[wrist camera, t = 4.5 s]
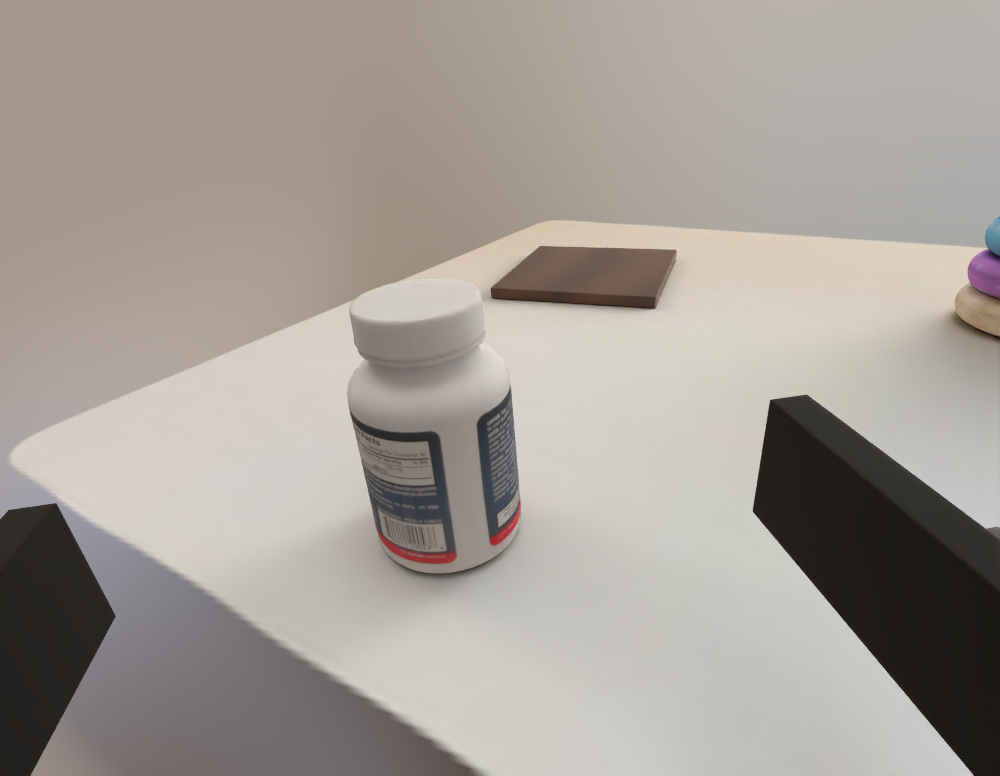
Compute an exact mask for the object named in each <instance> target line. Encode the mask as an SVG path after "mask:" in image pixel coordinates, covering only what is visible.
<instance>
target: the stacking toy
mask: <svg viewBox="0 0 1000 776" xmlns="http://www.w3.org/2000/svg"><path fill="white" fill-rule="evenodd" d="M985 242H986V245H987V247H988V248H989V249H987V250H984V251H982V252H980V253H979V254H977V255H976V256H975V257H974V258H973V259H972V260H971V262H970V264H969V267H968V278H969V281H970V283H968V284H967V285H965V286H964V287H963V288H962V289H961V290H960V291H959V292H958V294H957V296H956V299H955V309H956V312H957V313H958V315H959V316H960V317H961V318H962V319H963V320H964V321H966V322H967V323H969V324H970V325H972V326H974V327H976V328H978V329H980V330H983V331H985V332H988V333H990V334H993V335H996V336H999V337H1000V217H998V218H997V219H995V220H994V221H993V222H992V223H991V224H990V225H989V226H988V229H987V230H986V234H985Z"/></svg>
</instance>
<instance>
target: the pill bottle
mask: <svg viewBox="0 0 1000 776" xmlns="http://www.w3.org/2000/svg"><path fill="white" fill-rule="evenodd" d="M350 318H351V323H352V329H353V334H354V343H355V345H356V347H357V348H358V352H359V354H360V355H361V356H362V357H363V358H364V359H365V360H364V361H363V362H362V363H361V364H360V365H359V366H358V367H357V369H356V370H355V371H354V373H353V375H352V376H351V379H350V381H349V385H348V391H347V395H348V404H349V409H350V414H351V418H352V422H353V426H354V430H355V434H356V439H357V443H358V447H359V452H360V456H361V460H362V465H363V469H364V474H365V478H366V483H367V487H368V492H369V496H370V501H371V505H372V510H373V514H374V519H375V524H376V528H377V532H378V536H379V539H380V542H381V545H382V547H383V548H384V550H385V551H386V553H387V554H388V555H389V556H390V557H391V558H392V559H393V560H395V561H396V562H398V563H399V564H401V565H403V566H405V567H407V568H410V569H412V570H416V571H420V572H425V573H452V572H458V571H462V570H466V569H470V568H473V567H475V566H478V565H480V564H482V563H484V562H486V561H488V560H490V559H492V558H493V557H495V556H496V555H498V554H499V553H500V552H502V551H503V550H504V549H505V548H506V547H507V546H508V545H509V544H510V542H511V541H512V540H513V538H514V537H515V535H516V533H517V531H518V528H519V525H520V519H521V504H520V493H519V480H518V468H517V457H516V443H515V431H514V419H513V408H512V395H511V386H510V378H509V372H508V368H507V366H506V364H505V362H504V360H503V358H502V357H501V356H500V355H499V354H498V353H497V352H496V351H495V350H494V349H492V348H491V347H489V346H488V345H485V344H483V343H481V342H482V341H483V339H484V337H485V322H484V314H483V305H482V297H481V293H480V291H479V289H478V288H477V287H476V286H475V285H472V284H470V283H468V282H465V281H460V280H454V279H441V278H431V279H418V280H409V281H402V282H397V283H392V284H388V285H385V286H382V287H379V288H376V289H373V290H371V291H368V292H366V293H364V294H362V295H360V296H359V297H358V298H356V299H355V300H354V301H353V302H352V303H351V305H350Z"/></svg>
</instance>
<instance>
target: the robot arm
mask: <svg viewBox="0 0 1000 776" xmlns="http://www.w3.org/2000/svg"><path fill="white" fill-rule="evenodd" d="M753 512H754V514H755V515H756V516H757V517H758V518H759V519H760V521H761V522H762V523H763V524H764V525H765V527H766V528H767V529H768V530H769V531H770V533H771V534H772V535H773V536H774V537H775V539H776V540H777V541H778V542H779V543H780V545H781V546H782V547H783V548H784V549H785V551H786V552H787V553H788V554H789V555H790V556H791V558H792V559H793V560H794V561H795V562H796V564H797V565H798V566H799V567H800V568H801V570H802V571H803V572H804V573H805V574H806V576H807V577H808V578H809V579H810V580H811V582H812V583H813V584H814V585H815V586H816V588H817V589H818V590H819V591H820V592H821V593H822V595H823V596H824V597H825V598H826V599H827V601H828V602H829V603H830V604H831V605H832V607H833V608H834V609H835V610H836V611H837V613H838V614H839V615H840V616H841V617H842V619H843V620H844V621H845V622H846V623H847V625H848V626H849V627H850V628H851V629H852V630H853V632H854V633H855V634H856V635H857V636H858V638H859V639H860V640H861V641H862V642H863V644H864V645H865V646H866V647H867V648H868V650H869V651H870V652H871V653H872V654H873V656H874V657H875V658H876V659H877V660H878V662H879V663H880V664H881V665H882V666H883V667H884V669H885V670H886V671H887V672H888V673H889V675H890V676H891V677H892V678H893V679H894V681H895V682H896V683H897V684H898V685H899V687H900V688H901V689H902V690H903V691H904V693H905V694H906V695H907V696H908V697H909V699H910V700H911V701H912V702H913V703H914V704H915V706H916V707H917V708H918V709H919V710H920V712H921V713H922V714H923V715H924V716H925V718H926V719H927V720H928V721H929V722H930V724H931V725H932V726H933V727H934V728H935V730H936V731H937V732H938V733H939V734H940V735H941V737H942V738H943V739H944V740H945V741H946V743H947V744H948V745H949V746H950V747H951V749H952V750H953V751H954V752H955V753H956V755H957V756H958V757H959V758H960V759H961V761H962V762H963V763H964V764H965V765H966V767H967V768H968V769H969V770H970V771H971V772H972V774H973V775H974V776H1000V528H999V527H994V528H988V529H985V528H984V527H983V526H981V525H980V524H979V523H977V522H976V521H975V520H973V519H972V518H971V517H969V516H968V515H967V514H965V513H964V512H963V511H961V510H960V509H959V508H957V507H956V506H955V505H953V504H952V503H951V502H949V501H948V500H947V499H945V498H944V497H943V496H941V495H940V494H939V493H937V492H936V491H935V490H933V489H932V488H931V487H929V486H928V485H927V484H925V483H924V482H923V481H921V480H920V479H919V478H917V477H916V476H915V475H913V474H912V473H911V472H909V471H908V470H907V469H905V468H904V467H903V466H901V465H900V464H899V463H897V462H896V461H895V460H893V459H892V458H891V457H889V456H888V455H887V454H885V453H884V452H883V451H881V450H880V449H879V448H877V447H876V446H875V445H873V444H872V443H871V442H869V441H868V440H867V439H865V438H864V437H863V436H861V435H860V434H859V433H857V432H856V431H855V430H853V429H852V428H851V427H849V426H848V425H847V424H845V423H844V422H843V421H841V420H840V419H839V418H837V417H836V416H835V415H833V414H832V413H831V412H829V411H828V410H827V409H825V408H824V407H823V406H821V405H820V404H819V403H817V402H816V401H815V400H813V399H812V398H811V397H809V396H808V395H801V396H794V397H787V398H780V399H774V400H770V405H769V411H768V417H767V424H766V430H765V436H764V443H763V449H762V455H761V462H760V468H759V474H758V481H757V487H756V493H755V500H754V506H753ZM114 618H115V614H114V612H113V610H112V608H111V607H110V605H109V603H108V601H107V599H106V597H105V595H104V593H103V591H102V590H101V588H100V586H99V584H98V582H97V580H96V578H95V576H94V574H93V572H92V570H91V568H90V567H89V565H88V563H87V561H86V559H85V557H84V555H83V553H82V551H81V549H80V548H79V546H78V544H77V542H76V540H75V538H74V536H73V534H72V532H71V531H70V528H69V527H68V525H67V523H66V521H65V519H64V517H63V515H62V513H61V511H60V510H59V508H58V506H57V504H56V503H55V504H48V505H41V506H34V507H27V508H20V509H13V510H8V512H7V513H6V514H5V515H4V516H3V517H2V518H1V519H0V776H30V775H31V773H32V772H33V770H34V768H35V766H36V764H37V762H38V760H39V758H40V757H41V755H42V753H43V751H44V749H45V747H46V745H47V743H48V742H49V740H50V738H51V736H52V734H53V732H54V730H55V729H56V726H57V725H58V723H59V721H60V719H61V717H62V715H63V714H64V712H65V710H66V708H67V706H68V704H69V702H70V700H71V699H72V697H73V695H74V693H75V691H76V689H77V687H78V686H79V684H80V682H81V680H82V678H83V676H84V674H85V672H86V671H87V669H88V667H89V665H90V663H91V661H92V659H93V658H94V656H95V654H96V652H97V650H98V648H99V646H100V644H101V643H102V640H103V639H104V637H105V635H106V633H107V631H108V629H109V628H110V626H111V624H112V622H113V620H114Z"/></svg>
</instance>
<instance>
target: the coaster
mask: <svg viewBox="0 0 1000 776" xmlns="http://www.w3.org/2000/svg"><path fill="white" fill-rule="evenodd" d="M675 260H676V250H660V249H624V248H588V247H552V246H540V247H539V248H537V249H536V250H535V251H534V252H533V253H531V254H530V255H529V256H528V257H527V258H526V259H524V260H523V261H522V262H521V263H520V264H519V265H517V266H516V267H515V268H514V269H513V270H512V271H510V272H509V273H508V274H507V275H506V276H505V277H503V278H502V279H501V280H500V281H499V282H498V283H496V284H495V285H494V286H493V287H492V288H491V296H492V298H500V299H517V300H533V301H549V302H565V303H582V304H598V305H614V306H630V307H647V308H655V307H656V304H657V302H658V300H659V297H660V295H661V293H662V290H663V288H664V286H665V283H666V281H667V279H668V276H669V274H670V272H671V269H672V267H673V264H674V262H675Z"/></svg>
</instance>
